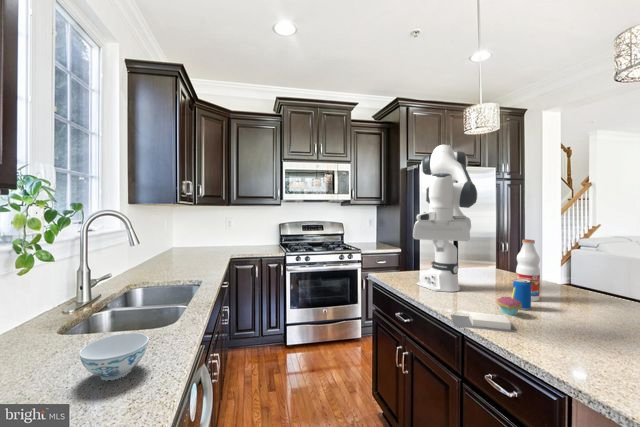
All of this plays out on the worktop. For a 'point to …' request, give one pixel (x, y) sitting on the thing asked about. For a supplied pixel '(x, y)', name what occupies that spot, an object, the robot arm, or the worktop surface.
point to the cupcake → (509, 304)
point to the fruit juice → (529, 267)
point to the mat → (465, 322)
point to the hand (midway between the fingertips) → (440, 251)
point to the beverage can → (523, 292)
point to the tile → (489, 320)
